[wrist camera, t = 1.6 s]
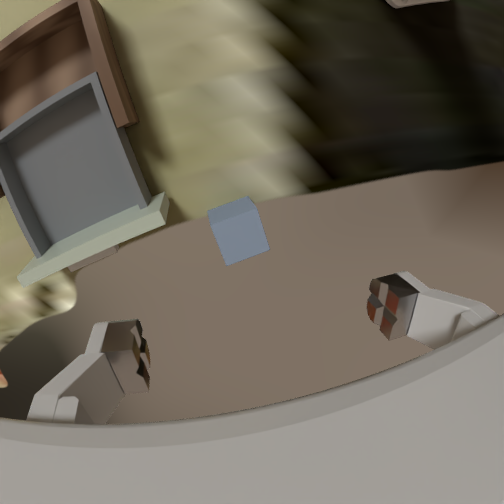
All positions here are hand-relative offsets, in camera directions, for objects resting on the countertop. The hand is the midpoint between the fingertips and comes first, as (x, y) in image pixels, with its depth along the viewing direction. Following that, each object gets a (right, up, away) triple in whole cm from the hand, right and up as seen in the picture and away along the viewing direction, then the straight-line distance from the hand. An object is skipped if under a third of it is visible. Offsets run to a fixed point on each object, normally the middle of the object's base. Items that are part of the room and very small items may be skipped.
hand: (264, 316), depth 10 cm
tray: (-20, +11, +19) cm, 29 cm away
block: (-3, +6, +26) cm, 27 cm away
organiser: (-23, +20, +15) cm, 34 cm away
